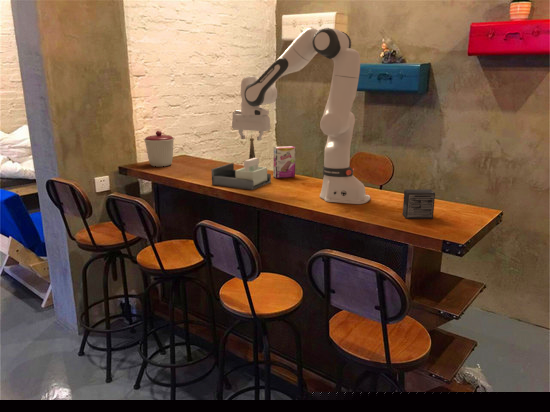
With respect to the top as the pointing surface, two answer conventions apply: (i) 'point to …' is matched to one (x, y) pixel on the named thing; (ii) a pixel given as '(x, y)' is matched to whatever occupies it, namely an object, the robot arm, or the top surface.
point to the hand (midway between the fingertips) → (251, 139)
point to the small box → (418, 203)
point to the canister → (159, 149)
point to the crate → (252, 171)
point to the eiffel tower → (251, 149)
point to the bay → (233, 178)
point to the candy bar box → (284, 162)
